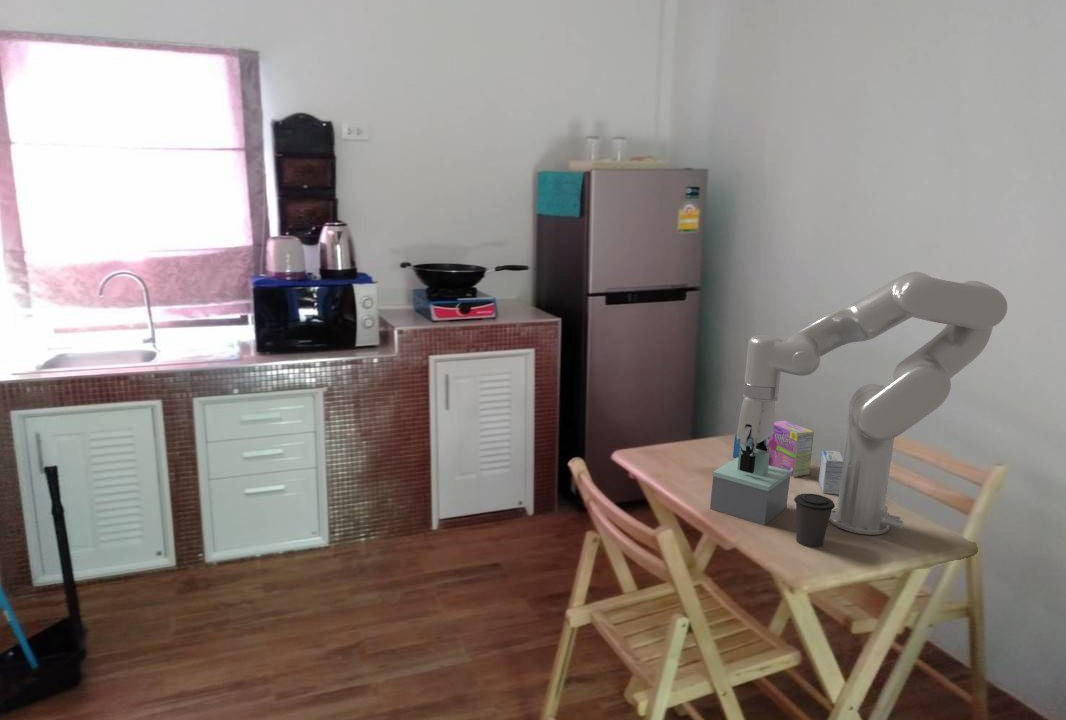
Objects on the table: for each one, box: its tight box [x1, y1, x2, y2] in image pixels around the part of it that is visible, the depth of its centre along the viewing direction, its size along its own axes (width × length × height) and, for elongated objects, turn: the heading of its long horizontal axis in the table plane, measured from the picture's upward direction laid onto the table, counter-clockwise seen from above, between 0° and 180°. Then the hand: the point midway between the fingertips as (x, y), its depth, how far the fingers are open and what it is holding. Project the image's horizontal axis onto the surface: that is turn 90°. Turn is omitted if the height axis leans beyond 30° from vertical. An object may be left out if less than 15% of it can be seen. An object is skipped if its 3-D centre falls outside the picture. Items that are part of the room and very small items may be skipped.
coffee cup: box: [793, 493, 836, 548], centre depth 170 cm, size 8×8×10 cm
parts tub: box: [709, 475, 791, 526], centre depth 187 cm, size 13×13×8 cm
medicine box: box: [818, 450, 844, 496], centre depth 201 cm, size 8×4×9 cm, turn 168°
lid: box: [712, 447, 791, 491], centre depth 185 cm, size 13×13×7 cm
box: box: [767, 419, 815, 478], centre depth 213 cm, size 10×6×12 cm, turn 25°
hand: (752, 466), depth 186 cm, fingers open, 6 cm apart
